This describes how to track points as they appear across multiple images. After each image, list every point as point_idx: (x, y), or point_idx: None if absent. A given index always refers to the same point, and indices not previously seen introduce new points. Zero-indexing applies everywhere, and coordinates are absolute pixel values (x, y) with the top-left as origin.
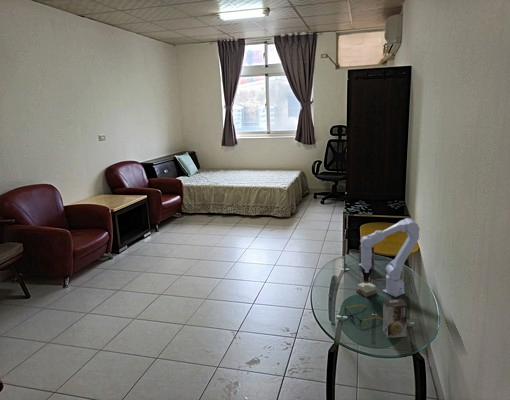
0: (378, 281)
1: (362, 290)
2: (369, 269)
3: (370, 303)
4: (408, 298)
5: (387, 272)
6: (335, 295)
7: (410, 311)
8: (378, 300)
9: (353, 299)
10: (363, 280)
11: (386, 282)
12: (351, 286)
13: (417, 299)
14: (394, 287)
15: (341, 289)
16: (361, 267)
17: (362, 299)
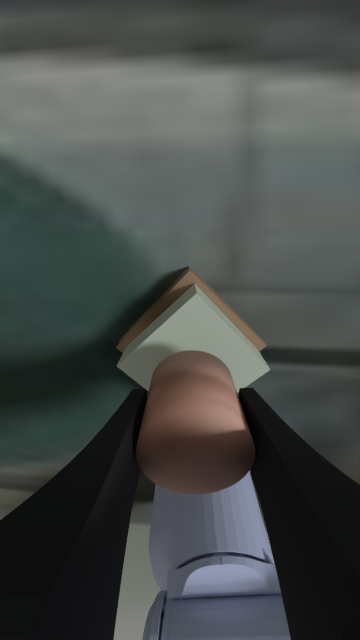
0: (352, 408)
1: (155, 320)
2: (280, 589)
3: (38, 353)
4: (150, 500)
5: (239, 637)
6: (74, 47)
7: (31, 493)
8: (92, 394)
9: (53, 244)
10: (157, 379)
11: (209, 502)
12: (286, 224)
13: (148, 521)
14: (163, 515)
15: (221, 118)
16: (345, 563)
17: (75, 308)
